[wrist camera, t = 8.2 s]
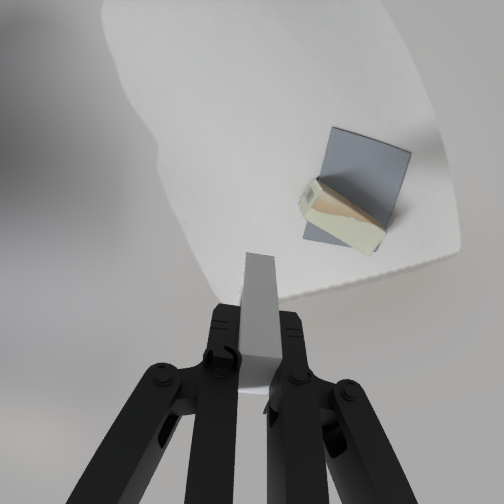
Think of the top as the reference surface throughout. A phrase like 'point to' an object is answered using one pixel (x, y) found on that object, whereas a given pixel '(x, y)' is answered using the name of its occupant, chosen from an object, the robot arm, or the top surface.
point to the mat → (360, 177)
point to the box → (341, 218)
